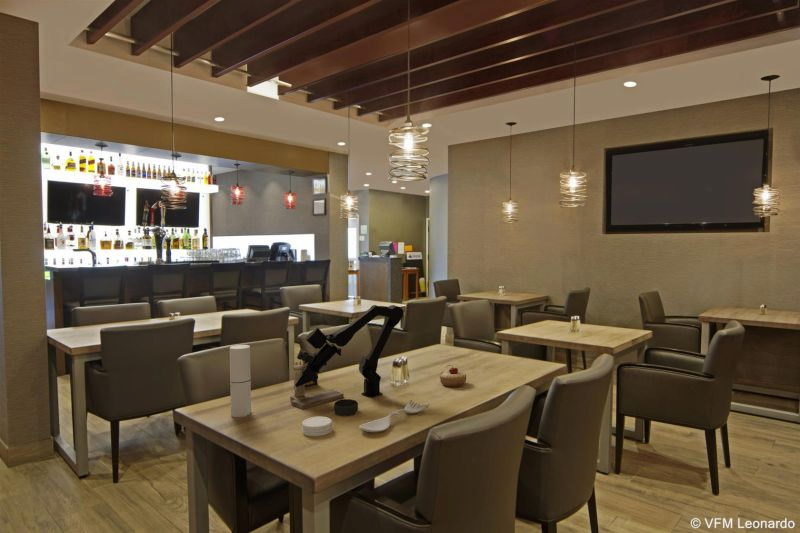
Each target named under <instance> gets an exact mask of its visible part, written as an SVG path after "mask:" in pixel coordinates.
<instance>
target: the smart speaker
mask: <svg viewBox="0 0 800 533" xmlns="http://www.w3.org/2000/svg"><path fill="white" fill-rule="evenodd" d="M358 411H359V403H358V401H357V400H354V399H351V398H350V399H349V398H345V399H344V398H342V399H338V400H336V401H335V403H334V404H333V412H334V414H335V415H337V416H341V417H348V416H353V415H355V414H357V413H358Z"/></svg>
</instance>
